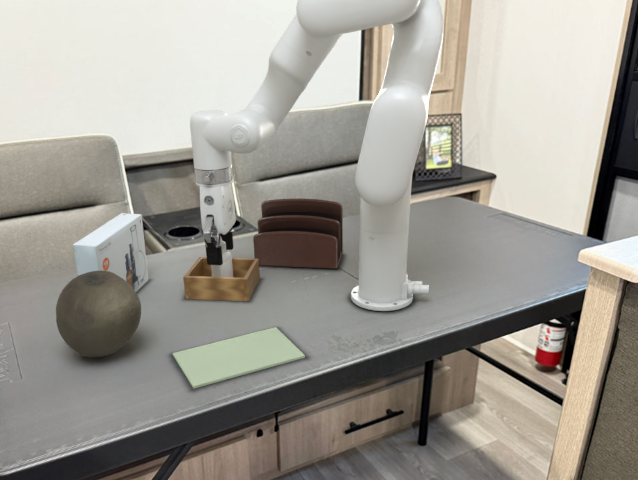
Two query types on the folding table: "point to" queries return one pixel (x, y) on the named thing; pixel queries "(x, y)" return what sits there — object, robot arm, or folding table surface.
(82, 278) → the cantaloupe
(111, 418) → the folding table surface
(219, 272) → the eye dropper bottle
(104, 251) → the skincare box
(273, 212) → the letter holder
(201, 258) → the wooden box
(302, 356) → the mat
